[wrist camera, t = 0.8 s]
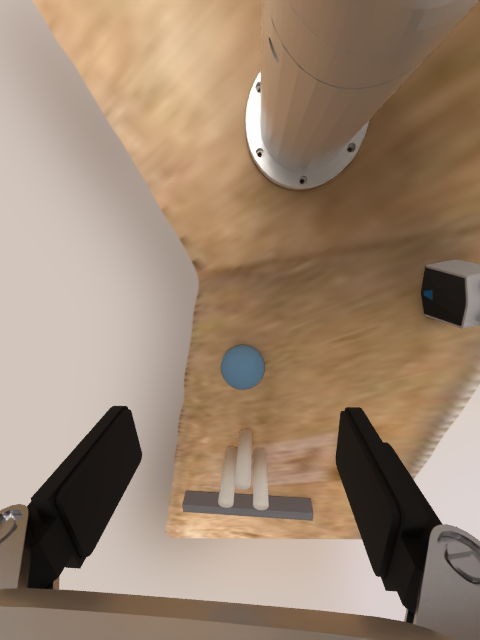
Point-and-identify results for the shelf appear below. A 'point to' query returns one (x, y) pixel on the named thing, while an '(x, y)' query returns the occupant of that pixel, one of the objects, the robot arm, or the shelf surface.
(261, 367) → the ball
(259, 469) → the pin
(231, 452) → the pin
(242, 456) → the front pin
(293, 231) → the shelf surface
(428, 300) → the padlock
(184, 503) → the grey long square bar
